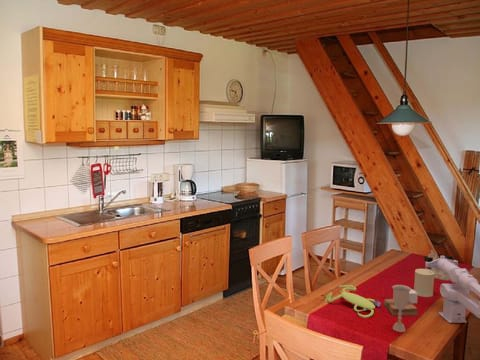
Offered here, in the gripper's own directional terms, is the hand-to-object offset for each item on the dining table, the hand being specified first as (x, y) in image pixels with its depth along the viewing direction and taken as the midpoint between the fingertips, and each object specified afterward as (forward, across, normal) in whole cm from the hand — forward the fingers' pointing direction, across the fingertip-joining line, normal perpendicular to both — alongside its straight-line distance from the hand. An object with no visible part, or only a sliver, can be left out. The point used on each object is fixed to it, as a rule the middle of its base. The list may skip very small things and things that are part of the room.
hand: (432, 257), depth 206 cm
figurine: (-4, +40, +20) cm, 45 cm away
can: (+7, 0, +22) cm, 23 cm away
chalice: (-29, +29, +20) cm, 46 cm away
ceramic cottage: (+34, -22, +24) cm, 47 cm away
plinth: (-12, +21, +20) cm, 31 cm away
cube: (-2, +12, +21) cm, 24 cm away
